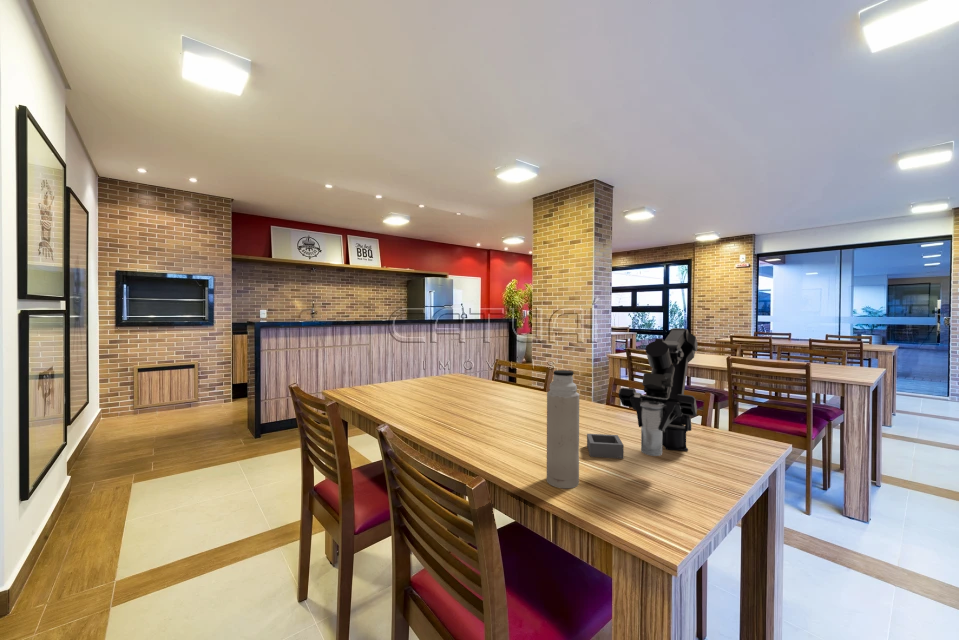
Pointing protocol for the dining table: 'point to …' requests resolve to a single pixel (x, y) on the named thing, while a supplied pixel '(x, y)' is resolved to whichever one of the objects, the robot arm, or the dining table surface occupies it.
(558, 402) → the thermos bottle
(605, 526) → the dining table surface
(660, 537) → the dining table surface
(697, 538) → the dining table surface
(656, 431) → the pipe
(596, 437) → the gray square tray
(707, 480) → the dining table surface
